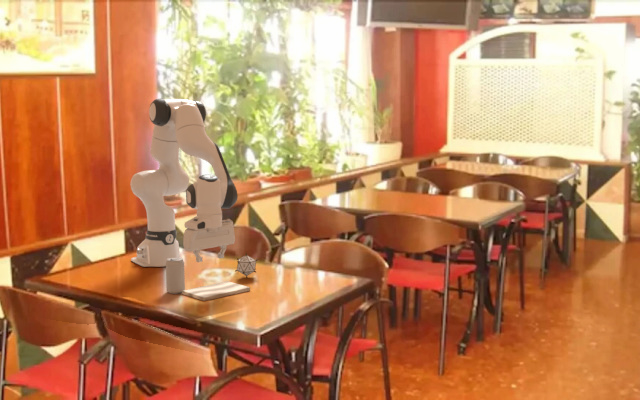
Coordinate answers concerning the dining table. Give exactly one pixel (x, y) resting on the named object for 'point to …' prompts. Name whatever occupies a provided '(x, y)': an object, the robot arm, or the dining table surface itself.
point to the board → (215, 290)
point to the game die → (246, 265)
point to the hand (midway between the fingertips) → (210, 259)
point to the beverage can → (175, 275)
